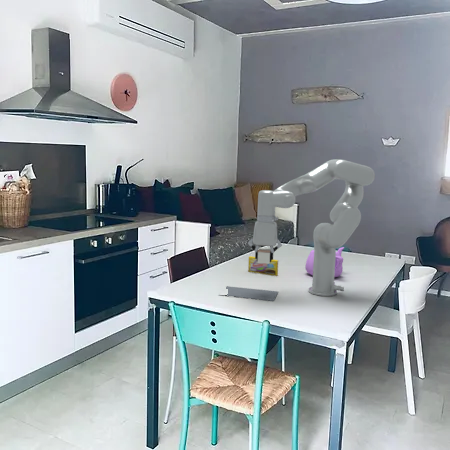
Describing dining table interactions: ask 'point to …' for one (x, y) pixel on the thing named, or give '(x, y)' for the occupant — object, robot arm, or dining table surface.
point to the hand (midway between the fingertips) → (264, 260)
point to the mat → (252, 293)
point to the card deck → (264, 255)
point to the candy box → (263, 267)
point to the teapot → (337, 263)
